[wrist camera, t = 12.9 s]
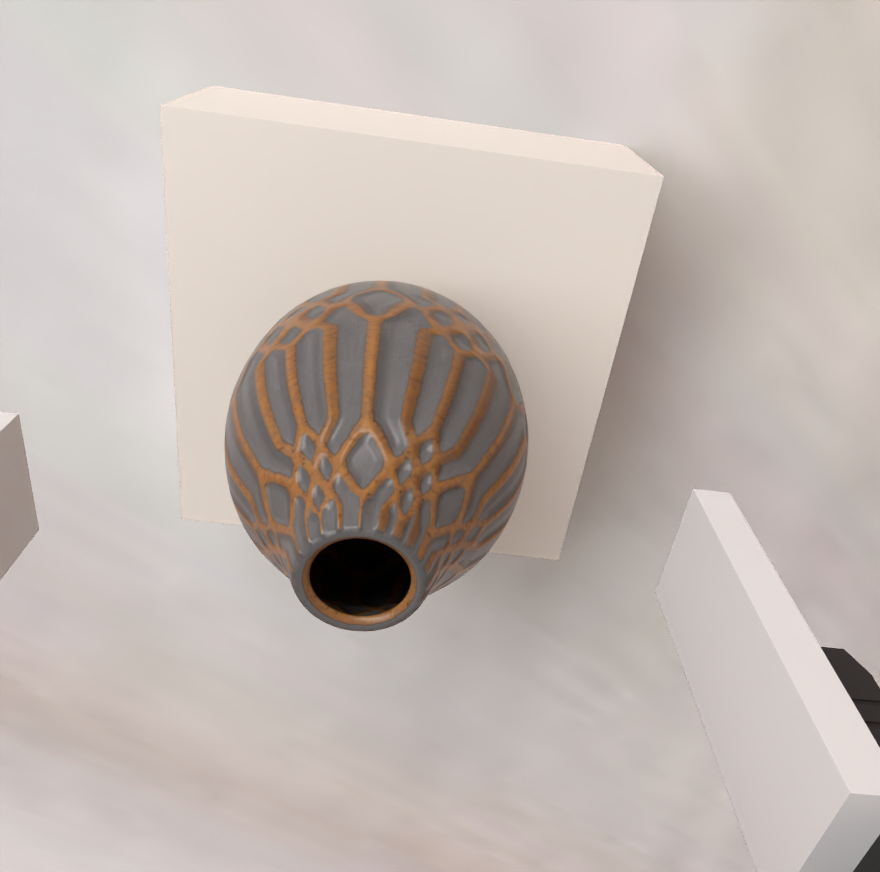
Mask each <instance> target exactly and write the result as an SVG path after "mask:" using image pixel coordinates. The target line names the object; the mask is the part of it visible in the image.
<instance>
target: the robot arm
mask: <svg viewBox="0 0 880 872" xmlns="http://www.w3.org/2000/svg"><path fill="white" fill-rule="evenodd" d="M38 530H39V527H38V521H37V515H36V510H35V504H34V498H33V493H32V487H31V481H30V475H29V470H28V464H27V458H26V453H25V447H24V441H23V435H22V430H21V424H20V418H19V414H18V413H9V412H0V580H1V579H2V578H3V576H4V575H5V574H6V572H7V571H8V570H9V568H10V567H11V566H12V564H13V563H14V562H15V560H16V559H17V558H18V556H19V555H20V554H21V553H22V551H23V550H24V549H25V547H26V546H27V545H28V543H29V542H30V541H31V539H32V538H33V537H34V535H35V534H36V533H37V531H38ZM655 593H656V596H657V598H658V601H659V604H660V607H661V610H662V612H663V615H664V618H665V621H666V623H667V626H668V629H669V632H670V634H671V637H672V640H673V643H674V645H675V648H676V651H677V654H678V656H679V659H680V662H681V665H682V667H683V670H684V673H685V676H686V679H687V681H688V684H689V687H690V690H691V692H692V695H693V698H694V701H695V703H696V706H697V709H698V712H699V714H700V717H701V720H702V723H703V725H704V728H705V731H706V734H707V736H708V739H709V742H710V745H711V748H712V750H713V753H714V756H715V759H716V761H717V764H718V767H719V770H720V772H721V775H722V778H723V781H724V783H725V786H726V789H727V792H728V794H729V797H730V800H731V803H732V805H733V808H734V811H735V814H736V816H737V819H738V822H739V825H740V828H741V830H742V833H743V836H744V839H745V841H746V844H747V847H748V850H749V852H750V855H751V858H752V861H753V863H754V866H755V869H756V872H880V688H879V686H878V685H877V683H876V682H875V680H874V678H873V677H872V675H871V674H870V673H869V672H868V671H867V670H866V669H865V668H864V667H862V666H861V665H860V664H859V663H858V662H857V661H856V660H855V659H854V658H853V657H852V656H851V655H850V654H848V653H847V652H846V651H845V650H844V649H837V648H827V647H820V645H819V644H818V642H817V640H816V638H815V637H814V635H813V633H812V632H811V630H810V628H809V626H808V625H807V623H806V621H805V620H804V618H803V616H802V615H801V613H800V611H799V609H798V608H797V606H796V604H795V603H794V601H793V599H792V598H791V596H790V594H789V592H788V591H787V589H786V587H785V586H784V584H783V582H782V581H781V579H780V577H779V575H778V574H777V572H776V570H775V569H774V567H773V565H772V563H771V562H770V560H769V558H768V557H767V555H766V553H765V552H764V550H763V548H762V546H761V545H760V543H759V541H758V540H757V538H756V536H755V535H754V533H753V531H752V529H751V528H750V526H749V524H748V523H747V521H746V519H745V518H744V516H743V514H742V512H741V511H740V509H739V507H738V506H737V504H736V502H735V500H734V499H733V497H732V495H731V494H730V493H727V492H718V491H709V490H700V489H693V490H692V493H691V496H690V498H689V501H688V504H687V507H686V509H685V512H684V515H683V518H682V520H681V523H680V526H679V529H678V531H677V534H676V537H675V540H674V542H673V545H672V548H671V550H670V553H669V556H668V559H667V561H666V564H665V567H664V570H663V572H662V575H661V578H660V581H659V583H658V586H657V589H656V592H655Z"/></svg>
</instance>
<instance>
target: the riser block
mask: <svg viewBox="0 0 880 872" xmlns="http://www.w3.org/2000/svg"><path fill="white" fill-rule="evenodd" d="M160 120H161V139H162V158H163V177H164V196H165V215H166V234H167V253H168V273H169V292H170V311H171V330H172V349H173V368H174V387H175V406H176V425H177V445H178V464H179V483H180V502H181V519H185V520H194V521H203V522H212V523H221V524H231V525H240V526H243V524H242V523H241V521H240V519H239V516H238V514H237V511H236V509H235V506H234V503H233V500H232V497H231V494H230V489H229V485H228V480H227V474H226V466H225V450H224V443H225V425H226V419H227V413H228V408H229V404H230V400H231V396H232V393H233V390H234V388H235V385H236V383H237V381H238V378H239V376H240V374H241V372H242V370H243V367H244V366H245V364H246V362H247V361H248V359H249V357H250V356H251V354H252V352H253V351H254V349H255V348H256V347H257V345H258V344H259V342H260V341H261V340H262V339H263V337H264V336H265V335H266V334H267V333H268V332H269V330H270V329H271V328H272V327H273V326H274V325H275V324H276V323H277V322H278V321H279V320H280V319H281V318H282V317H283V316H284V315H286V314H287V313H288V312H289V311H291V310H292V309H294V308H295V307H296V306H298V305H300V304H301V303H303V302H305V301H306V300H308V299H310V298H312V297H313V296H315V295H318V294H320V293H322V292H324V291H327V290H329V289H332V288H335V287H338V286H342V285H346V284H351V283H356V282H364V281H396V282H403V283H408V284H413V285H416V286H420V287H423V288H426V289H429V290H431V291H434V292H436V293H438V294H441V295H443V296H445V297H447V298H448V299H450V300H452V301H454V302H455V303H457V304H459V305H460V306H462V307H463V308H464V309H466V310H467V311H468V312H470V313H471V314H472V315H473V316H474V317H475V318H476V319H478V320H479V322H480V323H481V324H482V325H483V326H484V327H485V328H486V329H487V330H488V331H489V332H490V333H491V334H492V336H493V337H494V338H495V339H496V341H497V342H498V343H499V345H500V346H501V348H502V349H503V351H504V353H505V354H506V356H507V358H508V360H509V362H510V364H511V367H512V369H513V371H514V373H515V375H516V378H517V381H518V384H519V386H520V390H521V393H522V397H523V401H524V405H525V410H526V416H527V423H528V435H529V441H528V458H527V466H526V471H525V476H524V480H523V485H522V488H521V491H520V495H519V497H518V500H517V503H516V506H515V508H514V511H513V513H512V515H511V517H510V519H509V521H508V523H507V525H506V527H505V529H504V530H503V532H502V534H501V535H500V537H499V538H498V539H497V541H496V542H495V544H494V545H493V546H492V548H491V549H490V550H489V551H488V553H495V554H504V555H513V556H523V557H532V558H541V559H550V560H559V557H560V554H561V550H562V546H563V543H564V539H565V536H566V532H567V528H568V525H569V521H570V517H571V514H572V510H573V506H574V503H575V499H576V495H577V492H578V488H579V484H580V481H581V477H582V474H583V470H584V466H585V463H586V459H587V455H588V452H589V448H590V444H591V441H592V437H593V433H594V430H595V426H596V422H597V419H598V415H599V412H600V408H601V404H602V401H603V397H604V393H605V390H606V386H607V382H608V379H609V375H610V371H611V368H612V364H613V360H614V357H615V353H616V349H617V346H618V342H619V339H620V335H621V331H622V328H623V324H624V320H625V317H626V313H627V309H628V306H629V302H630V298H631V295H632V291H633V287H634V284H635V280H636V277H637V273H638V269H639V266H640V262H641V258H642V255H643V251H644V247H645V244H646V240H647V236H648V233H649V229H650V225H651V222H652V218H653V215H654V211H655V207H656V204H657V200H658V196H659V193H660V189H661V185H662V182H663V178H664V176H662V175H661V174H660V173H659V172H657V171H656V170H655V169H654V168H653V167H651V166H650V165H649V164H648V163H646V162H645V161H644V160H643V159H641V158H640V157H639V156H638V155H637V154H635V153H634V152H633V151H632V150H630V149H629V148H628V147H627V146H625V145H620V144H614V143H607V142H600V141H593V140H586V139H579V138H572V137H565V136H558V135H551V134H544V133H537V132H530V131H524V130H517V129H510V128H503V127H496V126H489V125H482V124H475V123H468V122H461V121H454V120H447V119H440V118H433V117H427V116H420V115H413V114H406V113H399V112H392V111H385V110H378V109H371V108H364V107H357V106H350V105H343V104H337V103H330V102H323V101H316V100H309V99H302V98H295V97H288V96H281V95H274V94H267V93H260V92H253V91H246V90H240V89H233V88H226V87H219V86H210V87H207V88H205V89H202V90H199V91H197V92H194V93H191V94H188V95H186V96H183V97H180V98H177V99H175V100H172V101H169V102H166V103H164V104H161V105H160Z"/></svg>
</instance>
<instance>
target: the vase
mask: <svg viewBox="0 0 880 872" xmlns="http://www.w3.org/2000/svg"><path fill="white" fill-rule="evenodd" d="M528 441H529V435H528V423H527V416H526V410H525V405H524V401H523V397H522V393H521V390H520V386H519V384H518V381H517V378H516V375H515V373H514V371H513V369H512V367H511V364H510V362H509V360H508V358H507V356H506V354H505V353H504V351H503V349H502V348H501V346H500V345H499V343H498V342H497V341H496V339H495V338H494V337H493V336H492V334H491V333H490V332H489V331H488V330H487V329H486V328H485V327H484V326H483V325H482V324H481V323H480V322H479V320H478V319H476V318H475V317H474V316H473V315H472V314H471V313H470V312H468V311H467V310H466V309H464V308H463V307H462V306H460V305H459V304H457V303H455V302H454V301H452V300H450V299H448V298H447V297H445V296H443V295H441V294H438V293H436V292H434V291H431V290H429V289H426V288H423V287H420V286H416V285H413V284H408V283H403V282H396V281H364V282H356V283H351V284H346V285H342V286H338V287H335V288H332V289H329V290H327V291H324V292H322V293H320V294H318V295H315V296H313V297H312V298H310V299H308V300H306V301H305V302H303V303H301V304H300V305H298V306H296V307H295V308H294V309H292V310H291V311H289V312H288V313H287V314H286V315H284V316H283V317H282V318H281V319H280V320H279V321H278V322H277V323H276V324H275V325H274V326H273V327H272V328H271V329H270V330H269V332H268V333H267V334H266V335H265V336H264V337H263V339H262V340H261V341H260V342H259V344H258V345H257V347H256V348H255V349H254V351H253V352H252V354H251V356H250V357H249V359H248V361H247V362H246V364H245V366H244V367H243V370H242V372H241V374H240V376H239V378H238V381H237V383H236V385H235V388H234V390H233V393H232V396H231V400H230V404H229V408H228V413H227V419H226V425H225V443H224V450H225V466H226V474H227V480H228V485H229V489H230V494H231V497H232V500H233V503H234V506H235V509H236V511H237V514H238V516H239V519H240V521H241V523H242V524H243V526H244V528H245V530H246V531H247V533H248V535H249V536H250V538H251V539H252V541H253V542H254V544H255V545H256V546H257V548H258V549H259V550H260V551H261V553H262V554H263V555H264V556H265V557H266V558H267V559H268V560H269V561H270V562H271V563H272V564H273V565H274V566H275V567H276V568H277V569H279V570H280V571H281V572H282V573H283V574H284V575H285V576H287V577H288V578H289V579H290V581H291V584H292V587H293V589H294V592H295V594H296V596H297V597H298V599H299V600H300V602H301V603H302V605H303V606H304V607H305V608H306V609H307V610H308V611H309V612H310V613H311V614H313V615H314V616H315V617H317V618H318V619H320V620H322V621H323V622H325V623H327V624H330V625H332V626H335V627H338V628H341V629H346V630H352V631H375V630H380V629H385V628H388V627H391V626H394V625H396V624H398V623H400V622H402V621H403V620H405V619H407V618H408V617H409V616H411V615H412V614H413V613H414V612H415V611H416V610H417V609H418V608H419V607H420V605H421V604H422V603H423V601H424V600H425V598H426V597H427V596H428V595H430V594H432V593H434V592H436V591H438V590H440V589H441V588H443V587H445V586H447V585H449V584H450V583H452V582H453V581H455V580H457V579H458V578H460V577H461V576H463V575H464V574H465V573H467V572H468V571H469V570H470V569H471V568H472V567H474V566H475V565H476V564H477V563H478V562H479V561H480V560H481V559H482V558H483V557H484V556H485V555H486V554H487V553H488V551H489V550H490V549H491V548H492V546H493V545H494V544H495V542H496V541H497V539H498V538H499V537H500V535H501V534H502V532H503V530H504V529H505V527H506V525H507V523H508V521H509V519H510V517H511V515H512V513H513V511H514V508H515V506H516V503H517V500H518V497H519V495H520V491H521V488H522V485H523V480H524V476H525V471H526V466H527V458H528Z"/></svg>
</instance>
